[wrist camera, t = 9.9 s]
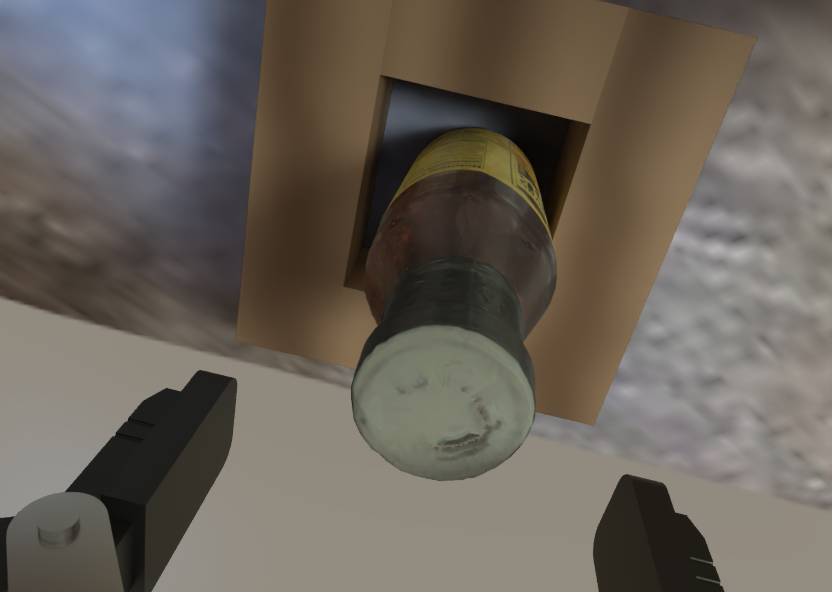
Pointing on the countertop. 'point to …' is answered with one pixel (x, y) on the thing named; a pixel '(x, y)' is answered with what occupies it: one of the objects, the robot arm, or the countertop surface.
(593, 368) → the square wooden frame
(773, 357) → the countertop surface
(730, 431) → the countertop surface
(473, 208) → the sauce bottle
